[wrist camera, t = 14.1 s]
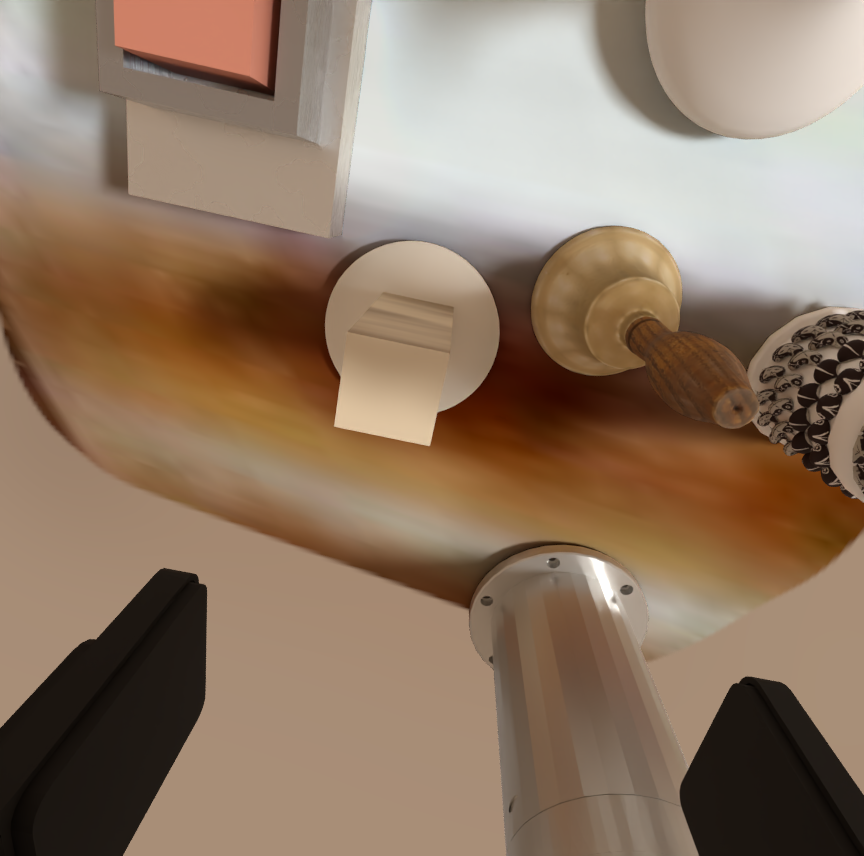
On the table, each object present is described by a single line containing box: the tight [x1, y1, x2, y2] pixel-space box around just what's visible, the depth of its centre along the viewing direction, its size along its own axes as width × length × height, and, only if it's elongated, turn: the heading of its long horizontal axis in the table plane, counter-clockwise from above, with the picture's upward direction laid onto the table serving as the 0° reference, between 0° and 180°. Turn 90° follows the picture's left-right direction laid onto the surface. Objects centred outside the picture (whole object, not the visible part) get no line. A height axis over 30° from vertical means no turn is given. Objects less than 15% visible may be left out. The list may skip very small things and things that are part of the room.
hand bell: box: [531, 226, 760, 429], centre depth 22 cm, size 8×8×16 cm
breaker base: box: [96, 0, 372, 238], centre depth 22 cm, size 16×10×6 cm, turn 168°
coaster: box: [325, 241, 500, 412], centre depth 30 cm, size 10×10×1 cm
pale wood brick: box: [334, 292, 454, 446], centre depth 25 cm, size 4×4×10 cm
